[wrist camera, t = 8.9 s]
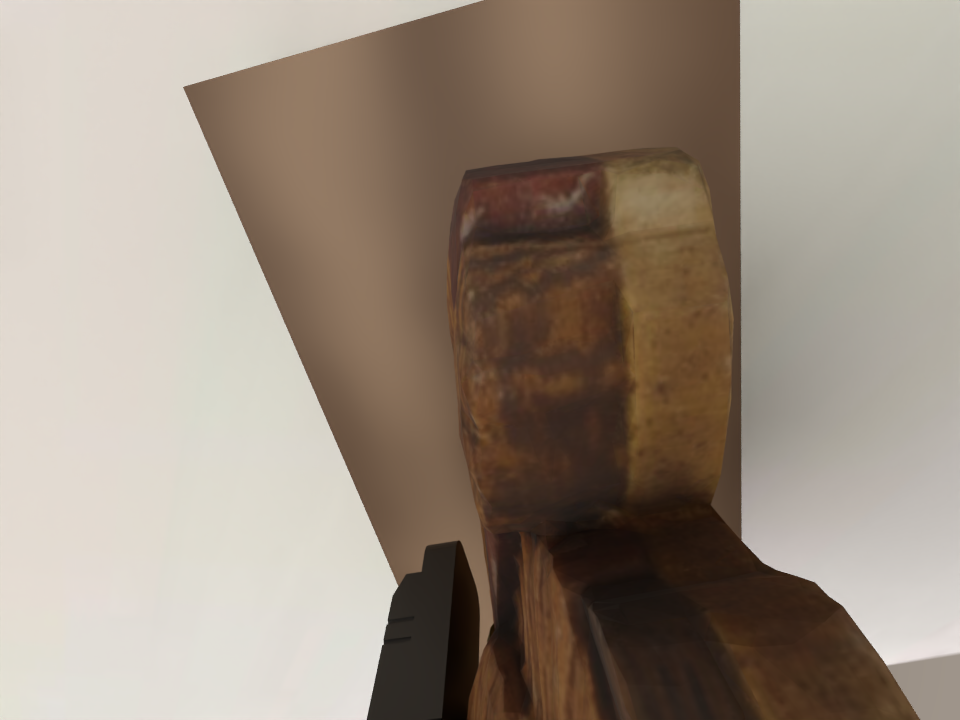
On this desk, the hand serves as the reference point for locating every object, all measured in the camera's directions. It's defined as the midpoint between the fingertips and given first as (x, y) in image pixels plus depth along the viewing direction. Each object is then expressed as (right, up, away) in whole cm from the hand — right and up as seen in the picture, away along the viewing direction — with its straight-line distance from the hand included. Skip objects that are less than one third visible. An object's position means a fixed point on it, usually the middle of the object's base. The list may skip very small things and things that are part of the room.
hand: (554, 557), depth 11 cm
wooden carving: (0, +1, +2) cm, 3 cm away
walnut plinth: (0, +4, +8) cm, 9 cm away
